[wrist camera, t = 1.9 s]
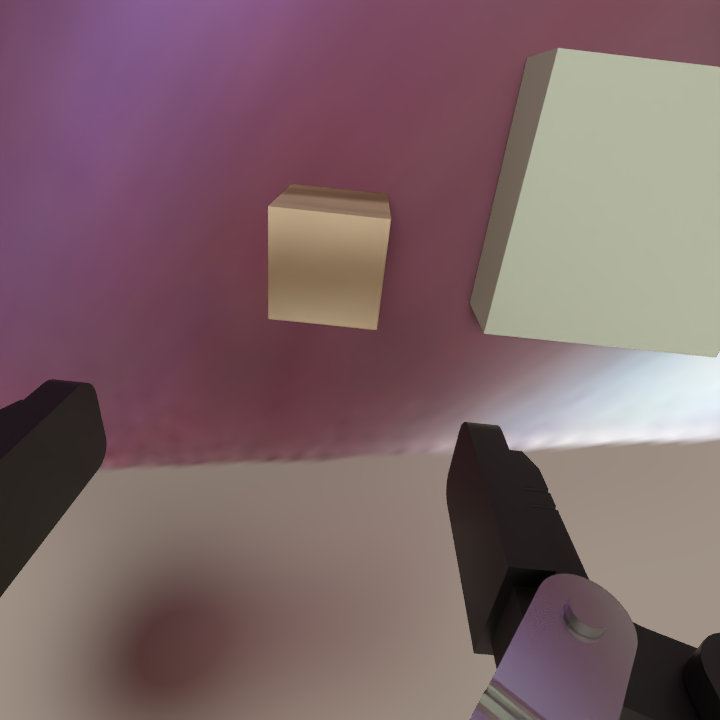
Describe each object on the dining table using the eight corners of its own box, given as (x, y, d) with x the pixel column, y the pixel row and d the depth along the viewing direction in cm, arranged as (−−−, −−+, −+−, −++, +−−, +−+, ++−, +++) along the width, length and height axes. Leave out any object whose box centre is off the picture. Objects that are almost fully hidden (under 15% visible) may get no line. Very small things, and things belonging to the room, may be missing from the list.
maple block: (291, 183, 24) (268, 206, 18) (387, 194, 24) (390, 219, 19) (290, 275, 26) (268, 318, 21) (376, 284, 26) (376, 330, 21)
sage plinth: (527, 57, 21) (558, 48, 17) (785, 87, 21) (867, 84, 17) (469, 303, 26) (483, 333, 23) (671, 324, 27) (715, 357, 23)
